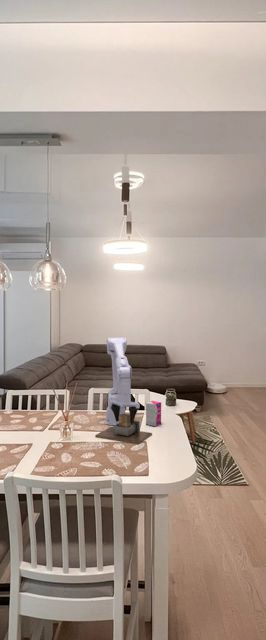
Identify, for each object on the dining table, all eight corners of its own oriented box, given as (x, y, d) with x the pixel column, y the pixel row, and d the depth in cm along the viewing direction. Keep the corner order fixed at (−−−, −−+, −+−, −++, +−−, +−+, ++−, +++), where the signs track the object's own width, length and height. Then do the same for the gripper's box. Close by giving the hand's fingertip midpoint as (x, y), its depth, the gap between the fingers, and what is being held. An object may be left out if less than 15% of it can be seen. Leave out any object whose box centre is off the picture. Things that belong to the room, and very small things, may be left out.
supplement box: (155, 427, 189) (155, 404, 188) (145, 425, 192) (145, 402, 192) (161, 424, 193) (161, 401, 193) (152, 422, 197) (151, 400, 197)
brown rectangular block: (118, 430, 176) (118, 415, 176) (123, 428, 179) (122, 413, 179) (126, 431, 174) (126, 416, 174) (130, 429, 177) (130, 414, 177)
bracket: (95, 437, 174) (95, 424, 174) (111, 428, 187) (110, 416, 187) (138, 444, 164) (138, 430, 164) (152, 435, 177) (151, 422, 177)
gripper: (106, 392, 176) (106, 422, 176) (134, 395, 169) (134, 426, 169) (114, 390, 182) (114, 418, 182) (141, 392, 175) (141, 422, 176)
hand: (124, 422), depth 176 cm, fingers open, 7 cm apart
